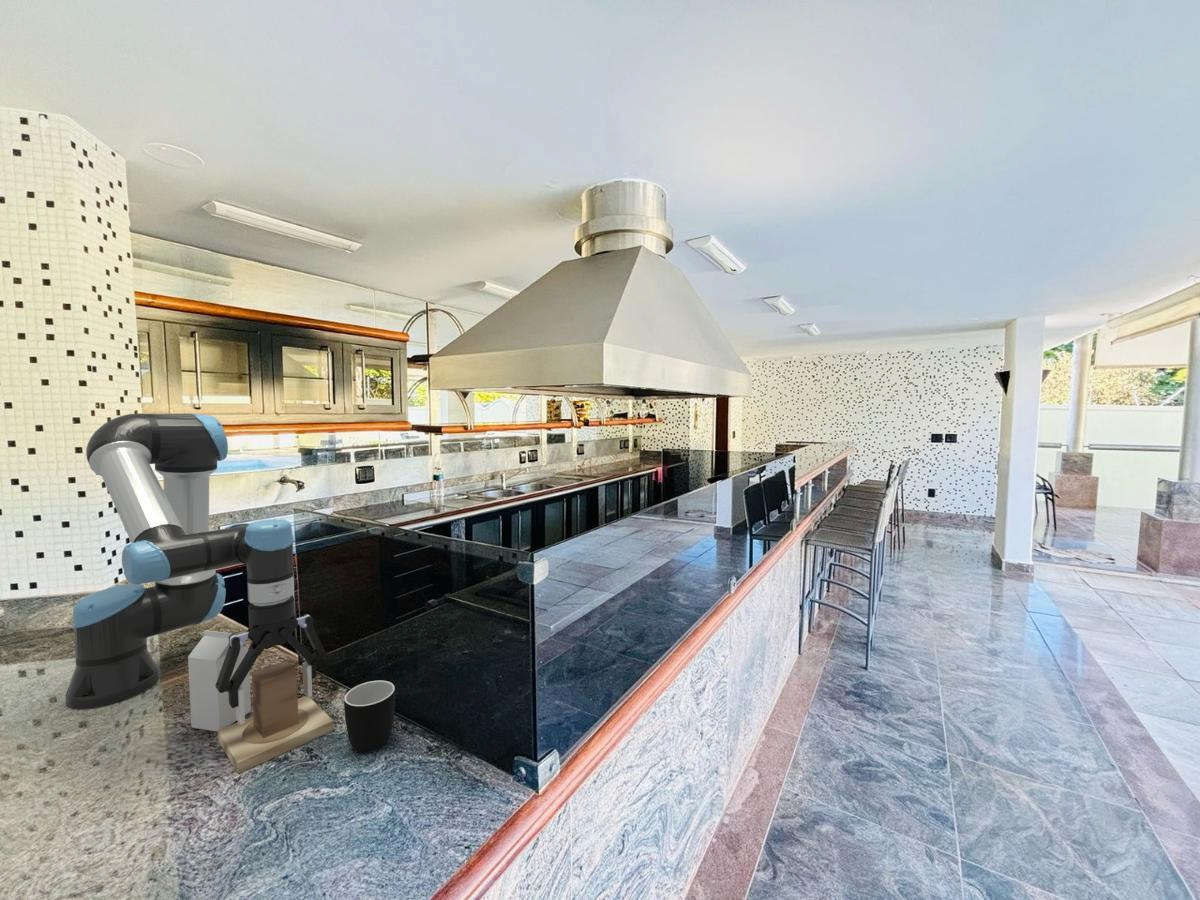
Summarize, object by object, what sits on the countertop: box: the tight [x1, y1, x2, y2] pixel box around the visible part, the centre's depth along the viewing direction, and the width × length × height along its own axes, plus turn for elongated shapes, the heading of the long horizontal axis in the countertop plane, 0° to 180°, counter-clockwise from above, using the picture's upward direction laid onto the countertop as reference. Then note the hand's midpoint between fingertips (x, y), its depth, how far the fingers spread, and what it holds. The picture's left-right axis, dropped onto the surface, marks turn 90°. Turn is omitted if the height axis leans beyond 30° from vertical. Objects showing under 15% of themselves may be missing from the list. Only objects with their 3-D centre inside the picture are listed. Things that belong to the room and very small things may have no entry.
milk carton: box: [187, 629, 252, 733], centre depth 101 cm, size 7×7×19 cm
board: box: [217, 695, 335, 775], centre depth 96 cm, size 14×16×2 cm
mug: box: [343, 680, 396, 754], centre depth 95 cm, size 12×9×10 cm
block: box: [251, 660, 299, 738], centre depth 96 cm, size 6×6×11 cm
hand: (275, 707), depth 96 cm, fingers open, 11 cm apart
